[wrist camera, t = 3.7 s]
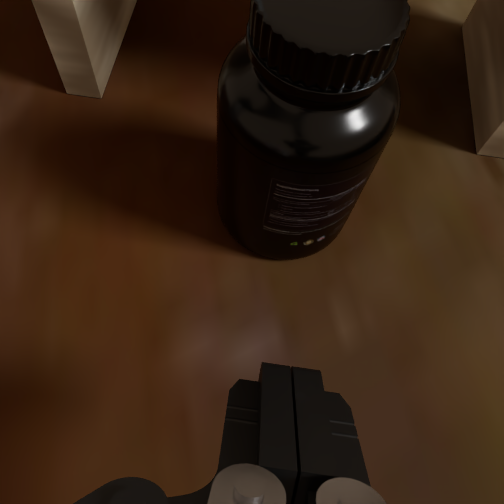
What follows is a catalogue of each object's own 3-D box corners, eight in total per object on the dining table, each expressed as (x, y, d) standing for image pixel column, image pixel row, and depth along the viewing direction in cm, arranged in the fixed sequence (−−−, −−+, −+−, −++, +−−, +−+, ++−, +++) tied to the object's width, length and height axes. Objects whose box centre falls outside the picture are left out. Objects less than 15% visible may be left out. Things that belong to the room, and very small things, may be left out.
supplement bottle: (202, 166, 25) (194, -66, 14) (319, 145, 26) (392, -83, 16) (234, 279, 22) (254, 96, 12) (364, 249, 24) (488, 59, 13)
